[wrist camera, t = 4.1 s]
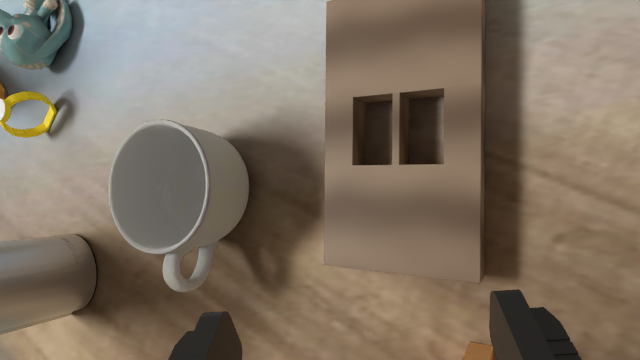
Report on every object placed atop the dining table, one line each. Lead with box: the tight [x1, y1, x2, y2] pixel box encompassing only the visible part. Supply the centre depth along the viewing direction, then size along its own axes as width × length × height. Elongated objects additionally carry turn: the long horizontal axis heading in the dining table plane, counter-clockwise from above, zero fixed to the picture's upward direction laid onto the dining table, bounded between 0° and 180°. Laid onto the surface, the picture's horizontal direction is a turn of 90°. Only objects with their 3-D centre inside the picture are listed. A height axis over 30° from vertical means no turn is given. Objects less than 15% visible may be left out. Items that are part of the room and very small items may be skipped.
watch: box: [0, 91, 57, 138], centre depth 50 cm, size 6×3×6 cm, turn 141°
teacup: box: [108, 119, 249, 292], centre depth 35 cm, size 14×11×8 cm
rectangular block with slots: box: [324, 0, 486, 283], centre depth 29 cm, size 20×11×2 cm, turn 0°
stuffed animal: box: [0, 0, 72, 70], centre depth 49 cm, size 11×7×12 cm
